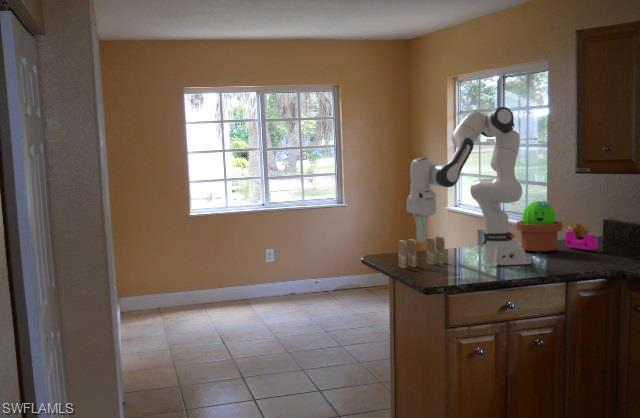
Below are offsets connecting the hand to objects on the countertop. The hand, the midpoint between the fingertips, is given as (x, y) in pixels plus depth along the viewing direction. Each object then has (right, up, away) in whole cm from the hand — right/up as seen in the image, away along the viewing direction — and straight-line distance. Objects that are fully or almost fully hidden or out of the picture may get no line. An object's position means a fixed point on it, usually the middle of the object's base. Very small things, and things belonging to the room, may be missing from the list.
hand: (420, 223), depth 304 cm
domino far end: (-8, -20, -2) cm, 22 cm away
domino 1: (-4, -19, 0) cm, 20 cm away
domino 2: (+5, -19, +4) cm, 20 cm away
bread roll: (+100, -9, +72) cm, 123 cm away
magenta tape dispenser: (+88, -13, +35) cm, 95 cm away
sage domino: (0, -9, +1) cm, 9 cm away
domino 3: (+10, -18, +6) cm, 22 cm away
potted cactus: (+65, -14, +34) cm, 75 cm away
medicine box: (+43, -13, +52) cm, 68 cm away
